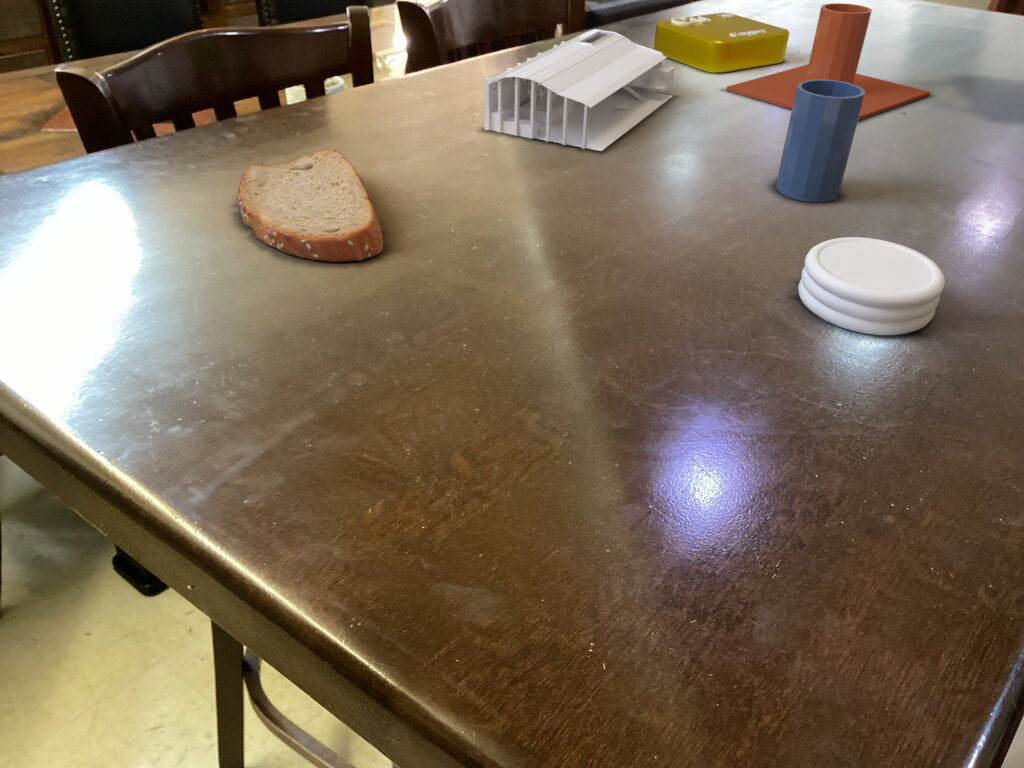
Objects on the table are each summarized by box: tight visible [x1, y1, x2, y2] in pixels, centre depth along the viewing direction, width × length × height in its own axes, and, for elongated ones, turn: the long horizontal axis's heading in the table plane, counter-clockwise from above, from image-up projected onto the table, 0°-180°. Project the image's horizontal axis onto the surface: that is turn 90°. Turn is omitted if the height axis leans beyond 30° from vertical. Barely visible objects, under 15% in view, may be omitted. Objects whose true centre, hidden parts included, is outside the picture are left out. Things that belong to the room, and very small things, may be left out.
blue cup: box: [775, 79, 866, 203], centre depth 79 cm, size 6×6×10 cm
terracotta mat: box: [725, 63, 931, 121], centre depth 109 cm, size 18×20×1 cm
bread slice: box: [237, 148, 384, 262], centre depth 75 cm, size 18×18×4 cm
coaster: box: [797, 236, 946, 336], centre depth 62 cm, size 10×10×4 cm
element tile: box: [653, 12, 790, 74], centre depth 122 cm, size 15×15×5 cm
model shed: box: [483, 28, 676, 152], centre depth 99 cm, size 25×15×7 cm, turn 152°
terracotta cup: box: [805, 2, 873, 84], centre depth 105 cm, size 6×6×10 cm
